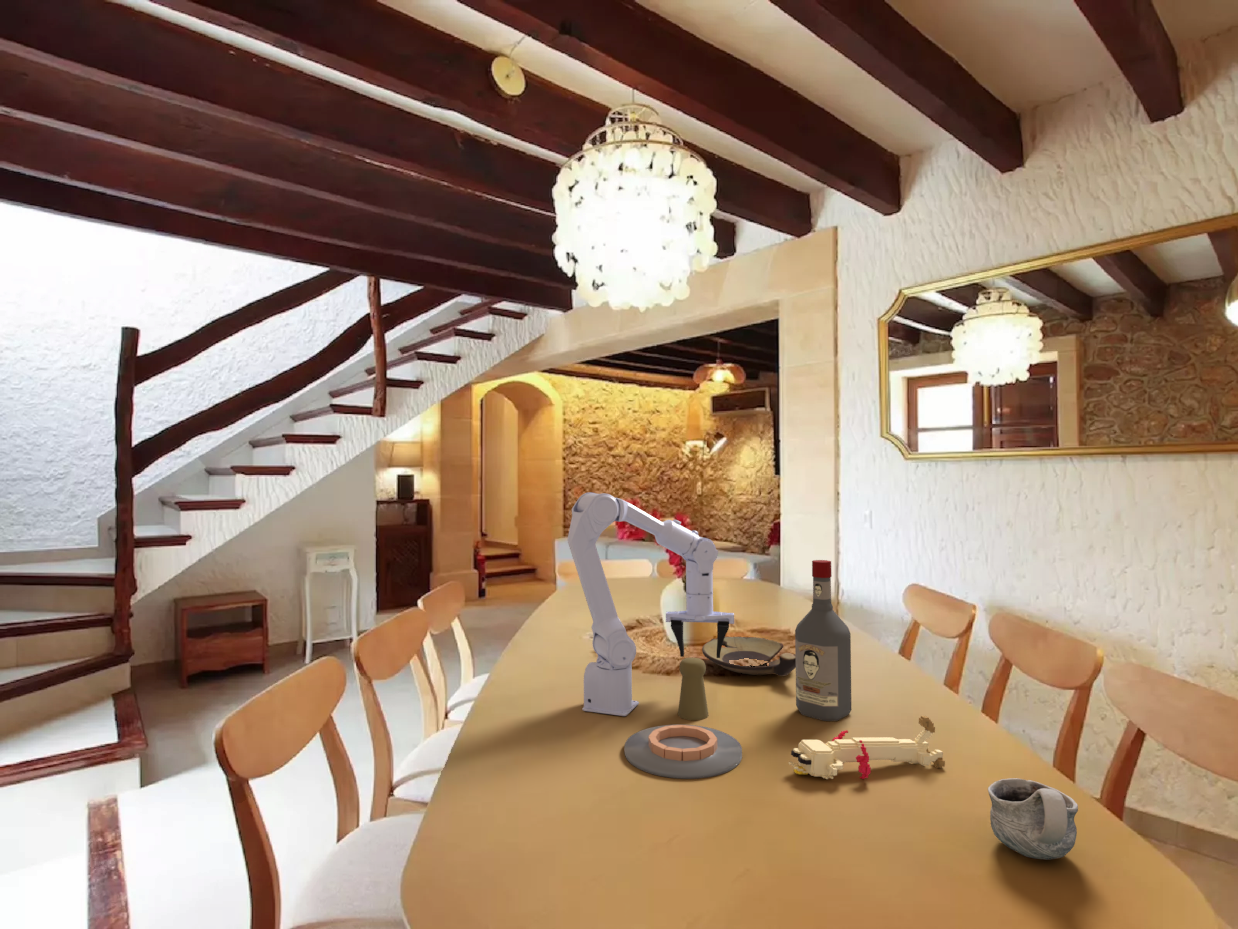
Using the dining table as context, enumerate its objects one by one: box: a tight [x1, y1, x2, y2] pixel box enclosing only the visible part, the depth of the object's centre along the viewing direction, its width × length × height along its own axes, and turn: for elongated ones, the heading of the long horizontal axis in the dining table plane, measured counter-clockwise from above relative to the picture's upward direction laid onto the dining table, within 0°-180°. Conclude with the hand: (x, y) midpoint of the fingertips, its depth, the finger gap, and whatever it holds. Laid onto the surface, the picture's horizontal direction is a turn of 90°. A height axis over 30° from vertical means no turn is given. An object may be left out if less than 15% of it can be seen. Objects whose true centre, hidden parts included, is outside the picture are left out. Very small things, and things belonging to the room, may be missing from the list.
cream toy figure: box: [788, 715, 946, 780], centre depth 108 cm, size 10×9×25 cm
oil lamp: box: [701, 636, 796, 677], centre depth 161 cm, size 22×30×8 cm
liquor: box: [794, 559, 853, 722], centre depth 134 cm, size 9×9×30 cm
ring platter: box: [624, 724, 743, 780], centre depth 115 cm, size 20×20×2 cm
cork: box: [677, 657, 709, 721], centre depth 133 cm, size 6×6×11 cm
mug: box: [987, 777, 1079, 861], centre depth 83 cm, size 10×12×10 cm
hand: (700, 656), depth 144 cm, fingers open, 7 cm apart
